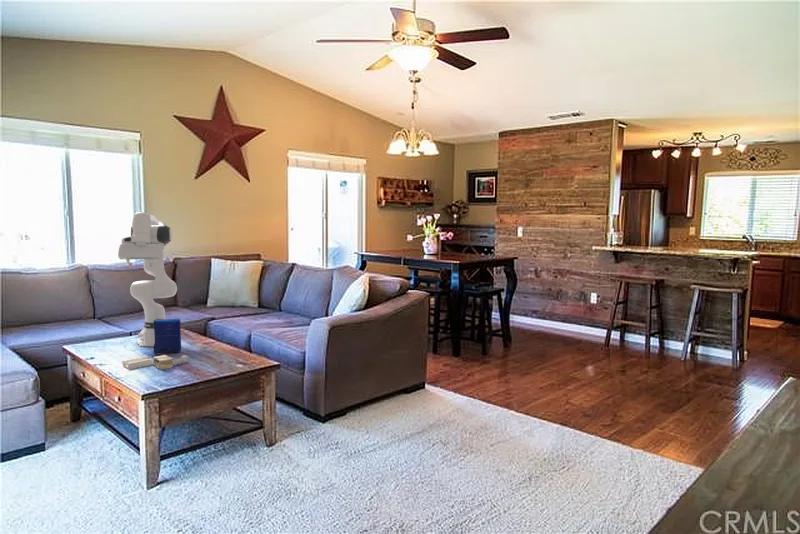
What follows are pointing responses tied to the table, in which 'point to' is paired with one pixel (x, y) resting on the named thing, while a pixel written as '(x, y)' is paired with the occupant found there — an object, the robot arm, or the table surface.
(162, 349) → the book
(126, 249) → the robot arm
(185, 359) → the bar
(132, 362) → the cradle
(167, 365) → the tan wooden block
